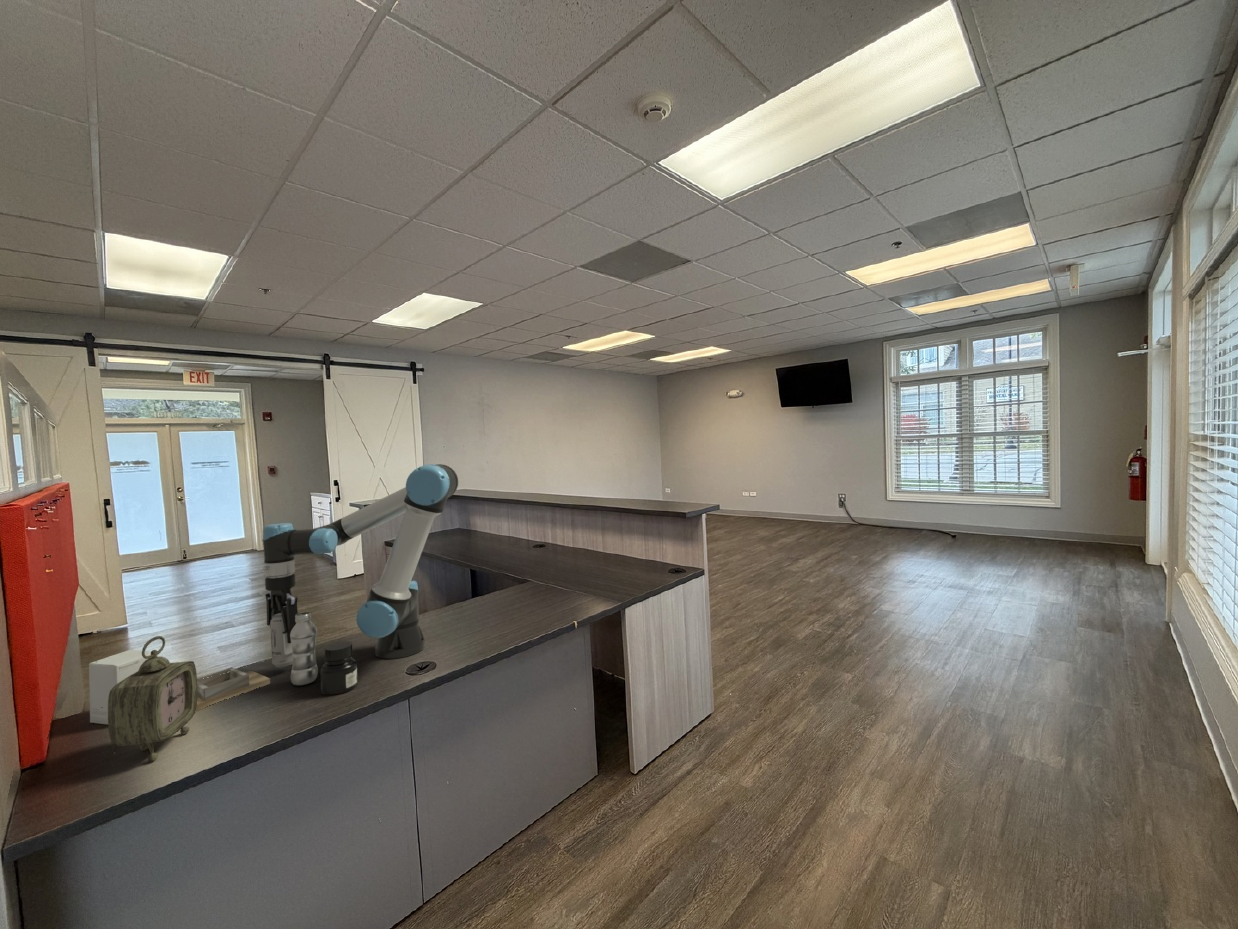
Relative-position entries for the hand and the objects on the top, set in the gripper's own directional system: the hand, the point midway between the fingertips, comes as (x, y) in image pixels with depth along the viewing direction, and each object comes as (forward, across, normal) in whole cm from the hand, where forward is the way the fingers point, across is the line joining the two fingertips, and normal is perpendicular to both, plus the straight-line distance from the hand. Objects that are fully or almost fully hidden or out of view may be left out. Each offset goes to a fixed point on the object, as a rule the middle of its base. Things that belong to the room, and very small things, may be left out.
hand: (283, 651), depth 150 cm
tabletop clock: (+6, +18, -35) cm, 40 cm away
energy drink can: (+4, 0, 0) cm, 4 cm away
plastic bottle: (+7, +14, -1) cm, 15 cm away
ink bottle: (+7, +26, +2) cm, 26 cm away
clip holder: (+6, 0, -16) cm, 17 cm away
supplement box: (+6, -8, -33) cm, 35 cm away
